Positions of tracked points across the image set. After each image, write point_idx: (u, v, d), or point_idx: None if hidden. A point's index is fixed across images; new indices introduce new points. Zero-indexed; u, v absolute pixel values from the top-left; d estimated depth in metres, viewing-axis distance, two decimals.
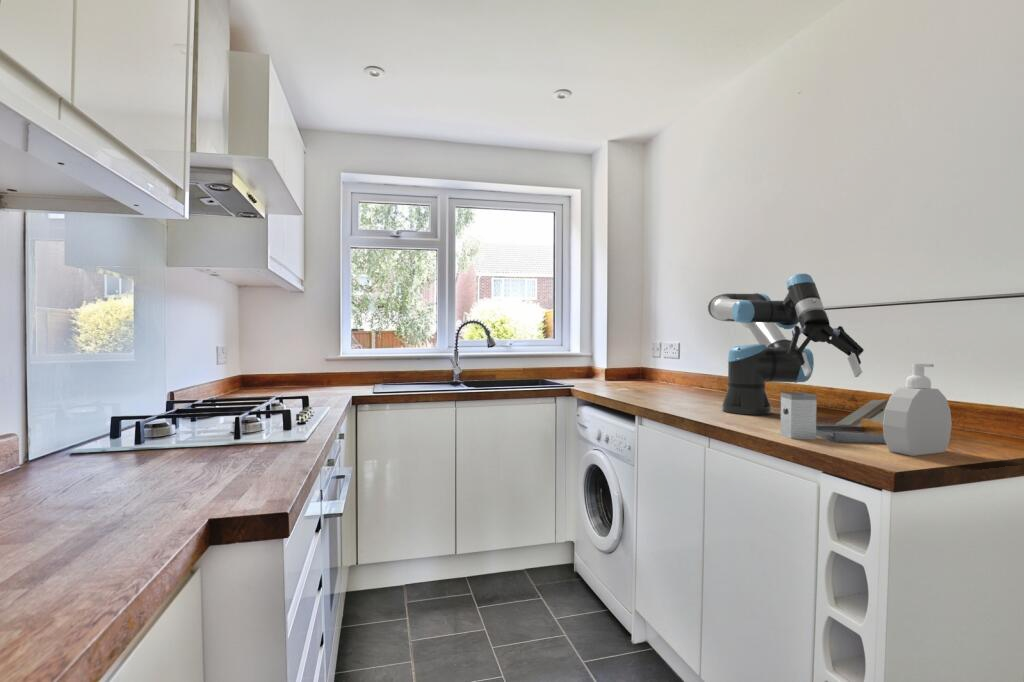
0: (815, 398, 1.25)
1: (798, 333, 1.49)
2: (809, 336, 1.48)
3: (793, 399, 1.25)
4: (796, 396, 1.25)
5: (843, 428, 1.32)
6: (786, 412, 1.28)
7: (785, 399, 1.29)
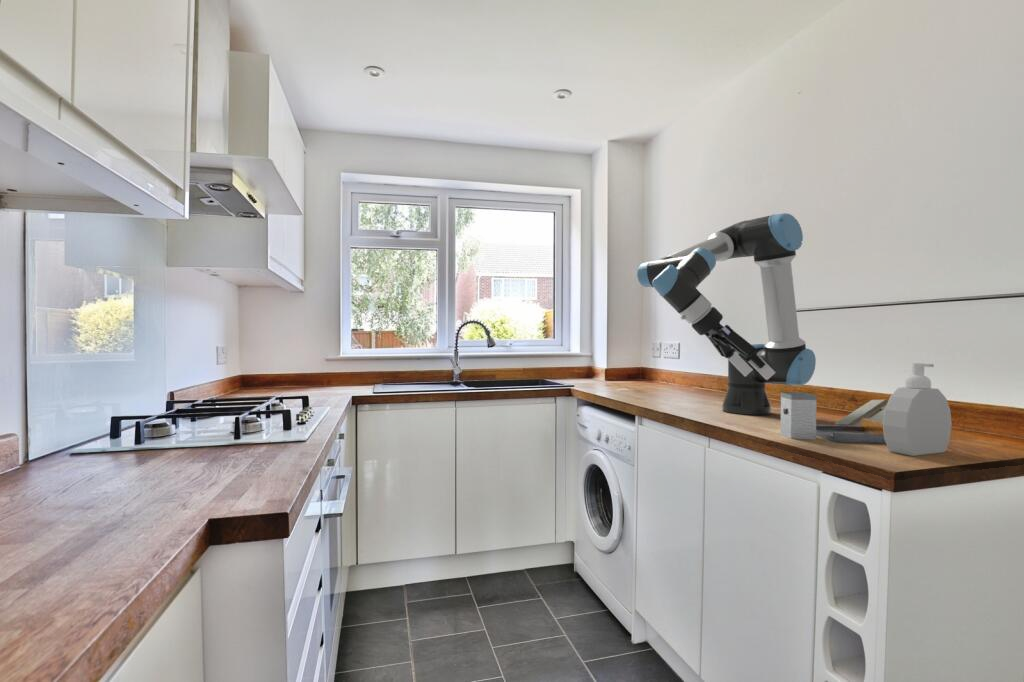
0: (815, 398, 1.25)
1: (710, 340, 1.36)
2: None
3: (793, 399, 1.25)
4: (796, 396, 1.25)
5: (843, 428, 1.32)
6: (786, 412, 1.28)
7: (785, 399, 1.29)
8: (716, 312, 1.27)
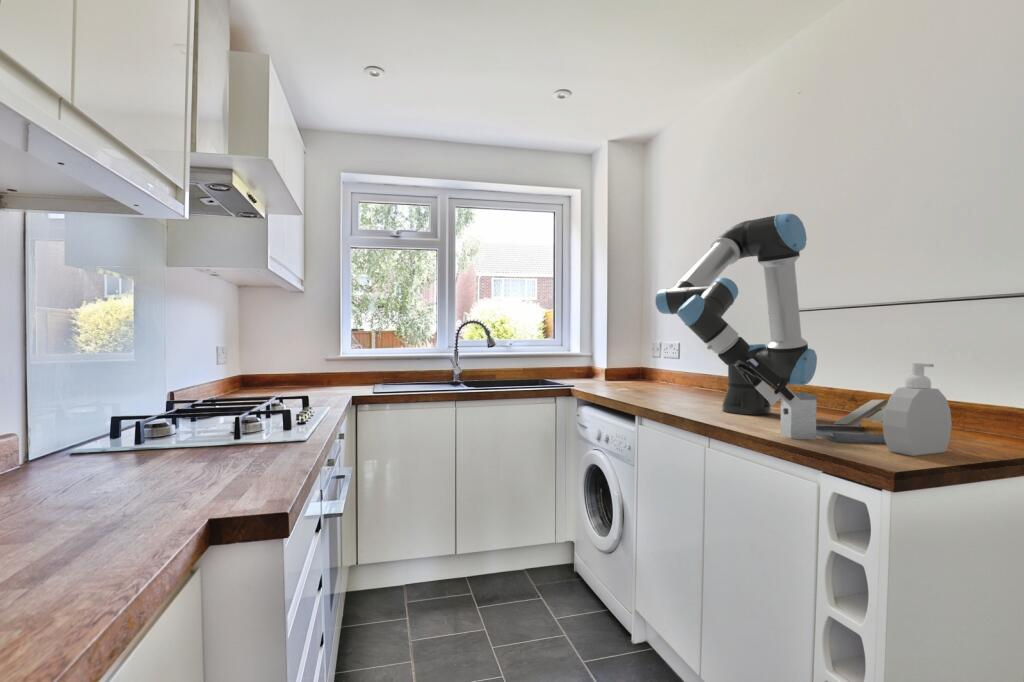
0: (815, 398, 1.25)
1: (737, 368, 1.35)
2: None
3: None
4: None
5: (843, 428, 1.32)
6: (786, 412, 1.28)
7: None
8: (743, 342, 1.26)
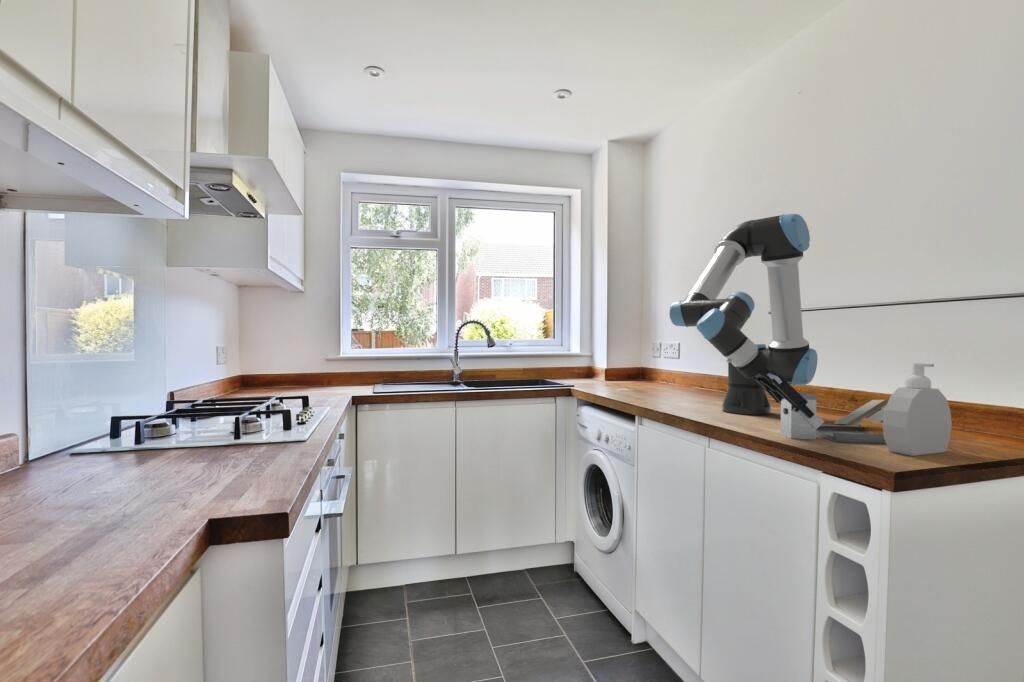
0: (815, 398, 1.25)
1: (760, 384, 1.34)
2: None
3: None
4: None
5: (843, 428, 1.32)
6: (786, 412, 1.28)
7: (785, 399, 1.29)
8: (763, 356, 1.26)
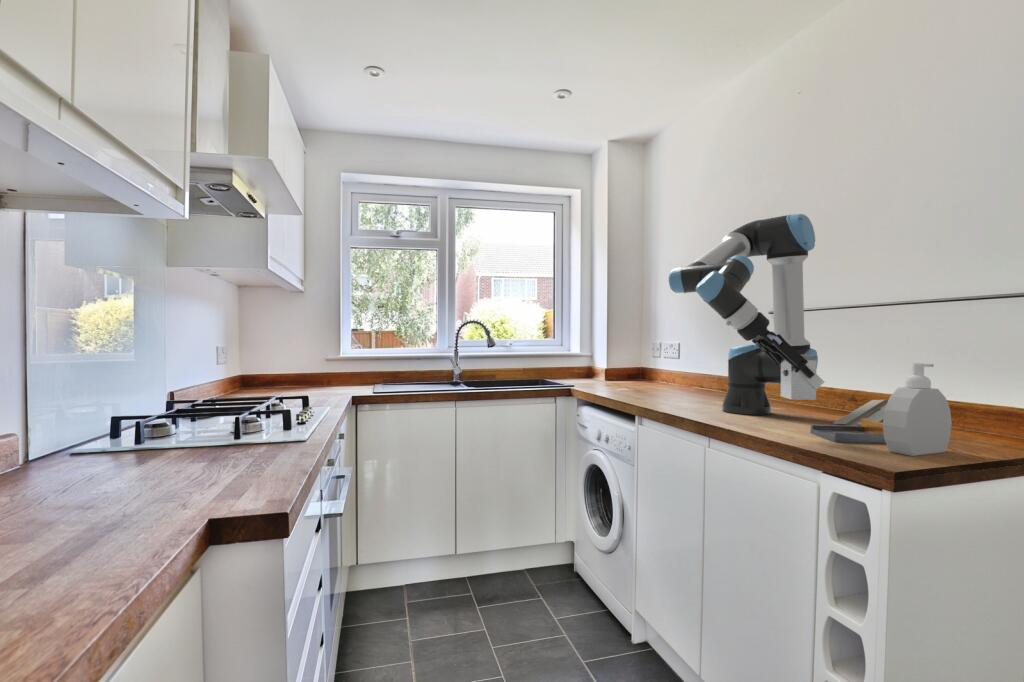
0: (815, 358, 1.25)
1: (760, 347, 1.34)
2: None
3: None
4: None
5: (843, 428, 1.32)
6: (786, 373, 1.28)
7: (785, 360, 1.29)
8: (763, 317, 1.26)
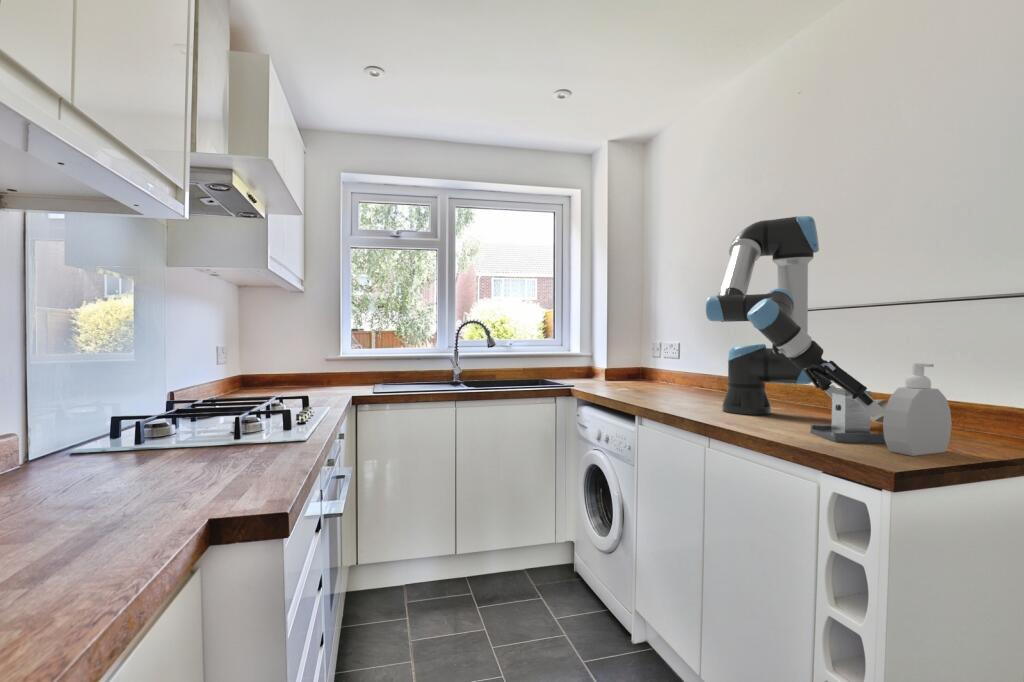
0: (870, 394, 1.24)
1: (806, 372, 1.34)
2: None
3: (847, 395, 1.24)
4: None
5: None
6: (839, 408, 1.27)
7: (838, 395, 1.28)
8: (817, 346, 1.25)
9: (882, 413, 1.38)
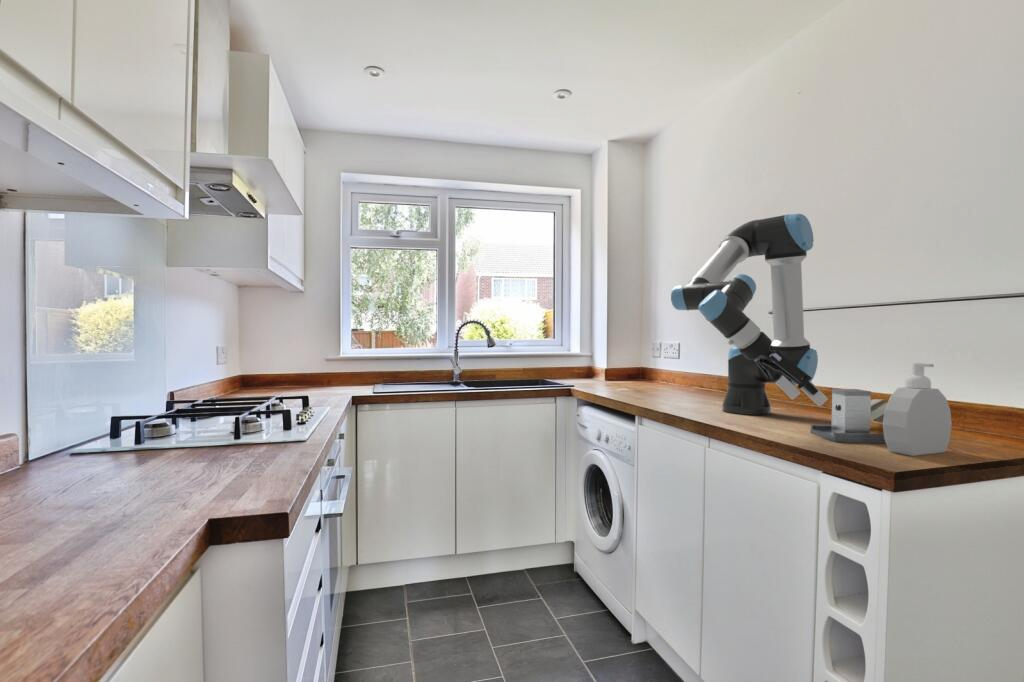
0: (870, 394, 1.24)
1: (757, 363, 1.35)
2: None
3: (847, 395, 1.24)
4: (850, 392, 1.24)
5: None
6: (839, 408, 1.27)
7: (838, 395, 1.28)
8: (765, 337, 1.26)
9: (880, 413, 1.38)
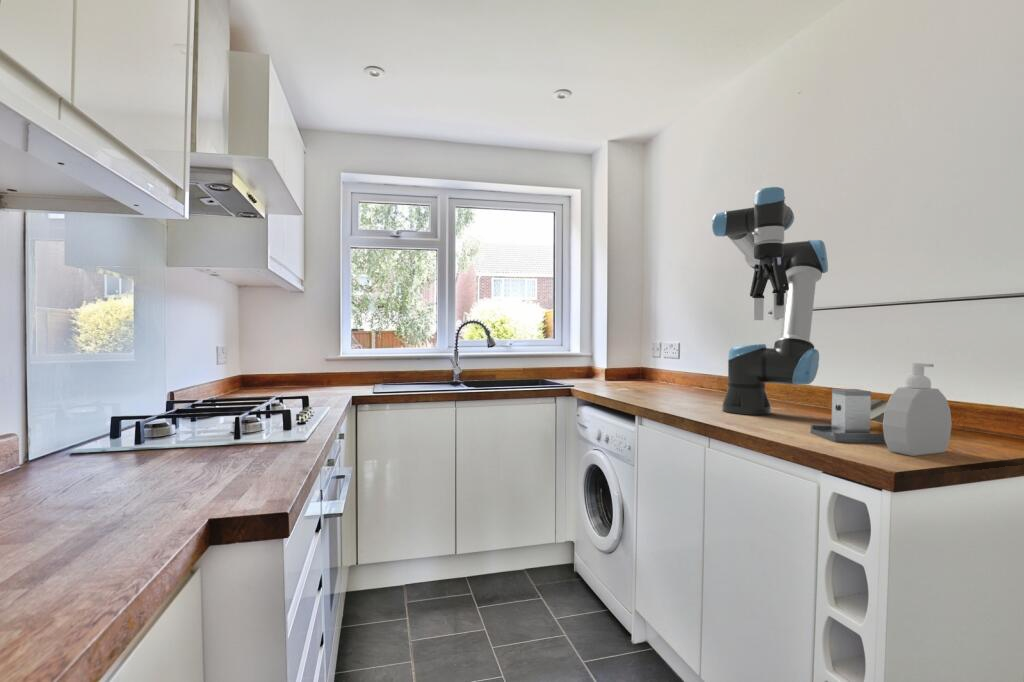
0: (870, 394, 1.24)
1: (754, 274, 1.47)
2: (757, 277, 1.44)
3: (847, 395, 1.24)
4: (850, 392, 1.24)
5: None
6: (839, 408, 1.27)
7: (838, 395, 1.28)
8: (782, 247, 1.37)
9: (878, 412, 1.39)
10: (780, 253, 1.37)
